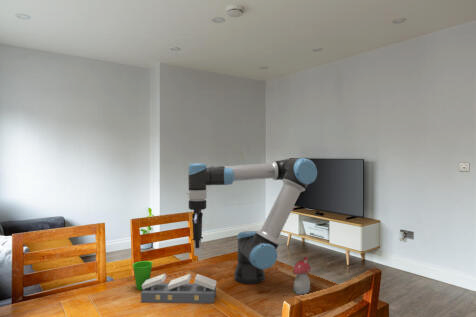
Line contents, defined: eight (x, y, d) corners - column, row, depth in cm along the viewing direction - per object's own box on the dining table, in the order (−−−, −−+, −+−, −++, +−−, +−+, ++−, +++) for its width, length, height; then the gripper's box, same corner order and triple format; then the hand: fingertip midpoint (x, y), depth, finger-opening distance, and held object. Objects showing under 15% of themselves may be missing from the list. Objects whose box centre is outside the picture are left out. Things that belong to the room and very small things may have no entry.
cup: (147, 293, 138) (147, 268, 138) (128, 291, 140) (128, 266, 140) (156, 284, 147) (156, 261, 147) (138, 283, 149) (138, 260, 149)
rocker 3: (215, 284, 136) (216, 280, 136) (214, 290, 130) (215, 286, 130) (196, 277, 137) (197, 273, 137) (193, 282, 131) (195, 279, 131)
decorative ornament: (306, 287, 144) (306, 254, 144) (315, 293, 138) (315, 259, 138) (288, 291, 140) (289, 257, 140) (297, 297, 134) (297, 262, 134)
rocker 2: (191, 277, 137) (190, 273, 137) (189, 282, 131) (187, 279, 131) (172, 283, 137) (171, 280, 137) (168, 289, 131) (167, 286, 131)
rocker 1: (166, 276, 137) (165, 273, 137) (162, 282, 131) (161, 278, 131) (147, 283, 137) (146, 280, 137) (142, 289, 131) (141, 285, 131)
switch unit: (215, 292, 138) (215, 280, 138) (213, 303, 128) (213, 290, 128) (148, 291, 139) (148, 279, 139) (140, 302, 129) (140, 289, 129)
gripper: (191, 197, 140) (191, 250, 140) (185, 201, 127) (186, 259, 127) (208, 197, 140) (208, 250, 140) (204, 201, 127) (204, 260, 127)
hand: (197, 254), depth 134 cm, fingers closed
